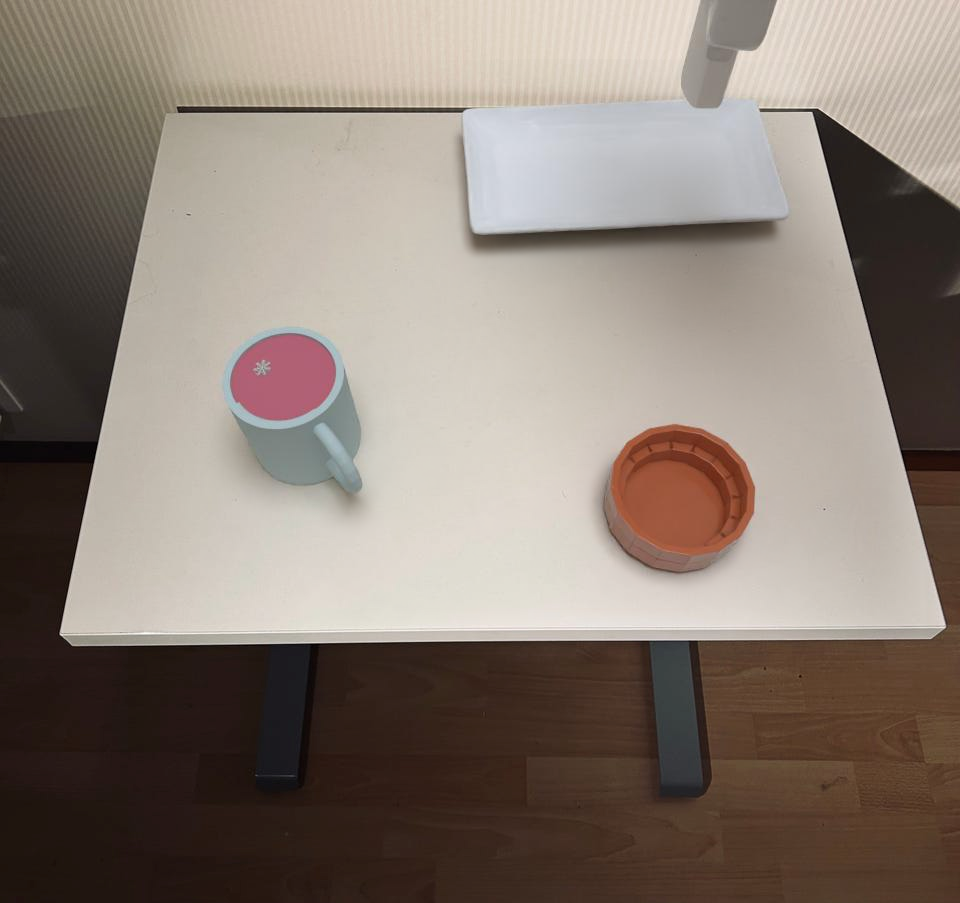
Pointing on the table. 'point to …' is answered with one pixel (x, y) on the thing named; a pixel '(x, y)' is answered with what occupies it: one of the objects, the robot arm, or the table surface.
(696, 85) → the eye dropper bottle
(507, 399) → the table surface
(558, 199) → the tray
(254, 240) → the table surface
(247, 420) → the mug
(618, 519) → the bowl
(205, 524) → the table surface
